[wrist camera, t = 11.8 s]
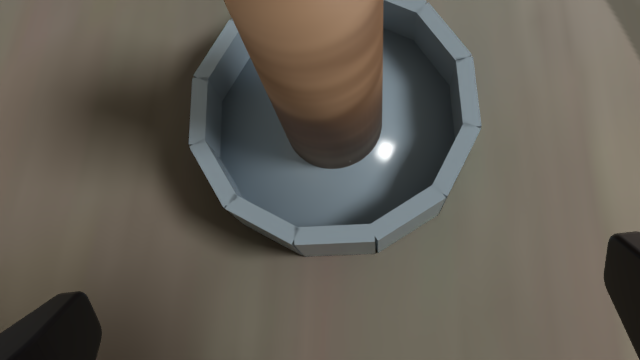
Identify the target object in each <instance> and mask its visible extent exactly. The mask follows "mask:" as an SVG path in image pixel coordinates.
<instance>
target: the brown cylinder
mask: <svg viewBox="0 0 640 360" xmlns="http://www.w3.org/2000/svg"><path fill="white" fill-rule="evenodd" d="M383 1H384V0H224V2H225V4H226V6H227V9H228V11H229V13H230V15H231V17H232V19H233V22H234V24H235V26H236V28H237V30H238V32H239V34H240V37H241V39H242V41H243V43H244V45H245V47H246V50H247V52H248V54H249V56H250V58H251V60H252V62H253V65H254V67H255V69H256V71H257V73H258V75H259V78H260V80H261V82H262V84H263V86H264V88H265V90H266V93H267V95H268V97H269V99H270V101H271V103H272V106H273V108H274V110H275V112H276V114H277V116H278V118H279V121H280V123H281V125H282V127H283V129H284V131H285V134H286V136H287V138H288V140H289V142H290V144H291V146H292V148H293V149H294V151H295V152H296V153H297V154H298V155H299V156H300V157H301V158H302V159H303V160H305V161H306V162H308V163H310V164H312V165H314V166H317V167H320V168H326V169H338V168H344V167H348V166H351V165H353V164H355V163H357V162H359V161H361V160H362V159H364V158H365V157H366V156H367V155H368V154H369V153H370V152H371V151H372V150H373V148H374V147H375V145H376V144H377V142H378V140H379V137H380V134H381V129H382V90H383Z"/></svg>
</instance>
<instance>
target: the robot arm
mask: <svg viewBox="0 0 640 360" xmlns="http://www.w3.org/2000/svg"><path fill="white" fill-rule="evenodd" d="M604 282H605V286H606V289H607V291H608V293H609V295H610V297H611V300H612V302H613V304H614V306H615V308H616V310H617V313H618V315H619V317H620V319H621V321H622V323H623V325H624V328H625V330H626V332H627V334H628V336H629V338H630V341H631V343H632V345H633V347H634V349H635V351H636V353H637V356H638V358H639V360H640V232H626V233H617V234H614V235H612V236H611V237H610V239H609V242H608V247H607V254H606V261H605V269H604ZM101 336H102V331H101V326H100V323H99V321H98V318H97V316H96V314H95V312H94V310H93V307H92V305H91V303H90V301H89V299H88V297H87V295H86V294H85V293H83V292H80V291H78V292H68V293H61V294H58V295H56V296H55V297H53V298H52V299H50V300H49V301H47V302H46V303H44V304H43V305H41V306H40V307H39V308H37V309H36V310H34V311H33V312H31V313H30V314H28V315H27V316H25V317H24V318H22V319H21V320H19V321H18V322H16V323H15V324H13V325H12V326H10V327H9V328H8V329H6V330H5V331H3V332H2V333H0V360H96V357H97V353H98V349H99V346H100V342H101Z"/></svg>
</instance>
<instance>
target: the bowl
mask: <svg viewBox="0 0 640 360" xmlns="http://www.w3.org/2000/svg"><path fill="white" fill-rule="evenodd" d="M426 2H427V1H425V0H384V1H383V90H382V129H381V134H380V137H379V140H378V142H377V144H376V145H375V147H374V148H373V150H372V151H371V152H370V153H369V154H368V155H367V156H366V157H365V158H364V159H362V160H361V161H359V162H357V163H355V164H353V165H351V166H348V167H344V168H338V169H326V168H320V167H317V166H314V165H312V164H310V163H308V162H306V161H305V160H303V159H302V158H301V157H300V156H299V155H298V154H297V153H296V152H295V151H294V149H293V148H292V146H291V144H290V142H289V140H288V138H287V136H286V134H285V131H284V129H283V127H282V125H281V123H280V121H279V118H278V116H277V114H276V112H275V110H274V108H273V106H272V103H271V101H270V99H269V97H268V95H267V93H266V90H265V88H264V86H263V84H262V82H261V80H260V78H259V75H258V73H257V71H256V69H255V67H254V65H253V62H252V60H251V58H250V56H249V54H248V52H247V50H246V47H245V45H244V43H243V41H242V39H241V37H240V34H239V32H238V30H237V28H236V26H235V24H234V22H233V19H232V18H231V19H232V21H231V20H229V21H228V23H227V24H226V26H225V27H224V29H223V30H222V32H221V33H220V35H219V36H218V38H217V39H216V41H215V43H214V44H213V46H212V47H211V49H210V50H209V52H208V53H207V55H206V56H205V58H204V60H203V61H202V63H201V64H200V66H199V67H198V69H197V70H196V72H195V73H194V75H193V76H194V78H192V92H191V110H190V128H189V145H190V149H191V151H192V153H193V154H194V156H195V158H196V160H197V161H198V163H199V165H200V167H201V169H202V170H203V172H204V174H205V176H206V177H207V179H208V181H209V183H210V185H211V186H212V188H213V190H214V192H215V193H216V195H217V197H218V199H219V201H220V202H221V204H222V206H223V207H224V208H225V209H226V210H227V211H228V212H229V213H231V214H232V215H233V216H234V217H235V218H237V219H238V220H239V221H240V222H241V223H243V224H244V225H246V226H248V227H250V228H251V229H253V230H255V231H257V232H259V233H261V234H263V235H264V236H266V237H268V238H270V239H272V240H274V241H276V242H277V243H279V244H281V245H283V246H285V247H287V248H289V249H290V250H292V251H294V252H296V253H298V254H300V255H302V256H303V255H304V256H305V257H307V256H332V255H357V254H376V253H375V249H376V251H377V252H378V253H379V252H380V251H382V250H384V249H385V248H387V247H388V246H390V245H391V244H393V243H395V242H396V241H398V240H399V239H401V238H402V237H404V236H406V235H407V234H409V233H410V232H412V231H414V230H415V229H417V228H418V227H420V226H421V225H423V224H425V223H426V222H428V221H429V220H431V219H432V218H434V217H436V216H437V215H438V213H440V211H441V209H442V207H443V205H444V203H445V201H446V199H447V197H448V195H449V193H450V190H451V188H452V186H453V184H454V182H455V180H456V178H457V176H458V174H459V172H460V170H461V168H462V166H463V164H464V162H465V160H466V158H467V156H468V154H469V152H470V150H471V148H472V146H473V144H474V142H475V140H476V138H477V136H478V134H479V132H480V129H481V118H480V110H479V102H478V94H477V86H476V78H475V70H474V62H473V57H471V55H472V54H471V53H470V52H469V50H468V49H467V48H466V47H465V46H464V44H463V43H462V42H461V41H460V40H459V38H458V37H457V36H456V35H455V34H454V32H453V31H452V30H451V29H450V28H449V26H448V25H447V24H446V23H445V22H444V20H443V19H442V18H441V17H440V16H439V14H438V13H437V12H436V11H435V10H434V8H433V7H432V6H431V5H430V4H429V2H428V3H427V4H426Z"/></svg>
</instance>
